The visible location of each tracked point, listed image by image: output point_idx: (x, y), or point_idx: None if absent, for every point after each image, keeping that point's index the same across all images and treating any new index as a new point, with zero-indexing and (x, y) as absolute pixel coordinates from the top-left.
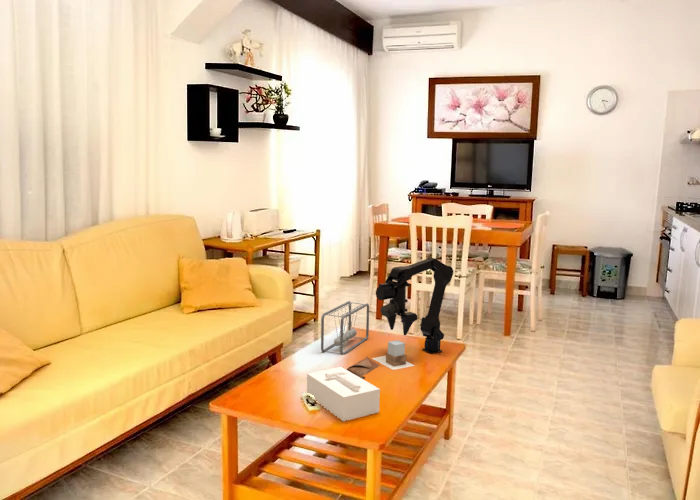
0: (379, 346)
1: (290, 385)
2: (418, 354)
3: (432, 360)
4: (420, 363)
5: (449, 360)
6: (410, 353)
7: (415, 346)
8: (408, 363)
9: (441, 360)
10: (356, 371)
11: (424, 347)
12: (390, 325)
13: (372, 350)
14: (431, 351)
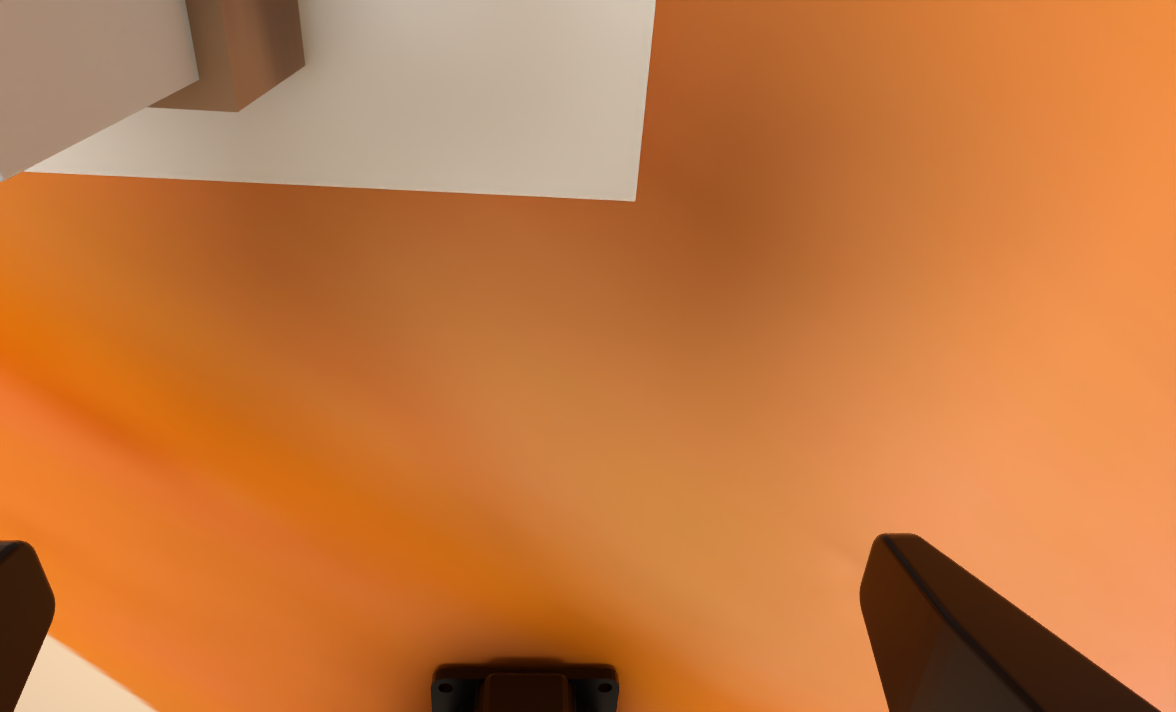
0: (1152, 317)
1: None
2: (502, 550)
3: (201, 557)
4: (127, 364)
5: (133, 693)
6: (596, 495)
7: (772, 670)
8: None
9: (163, 633)
10: None
11: (561, 702)
12: (995, 666)
13: (1131, 79)
14: (470, 700)
